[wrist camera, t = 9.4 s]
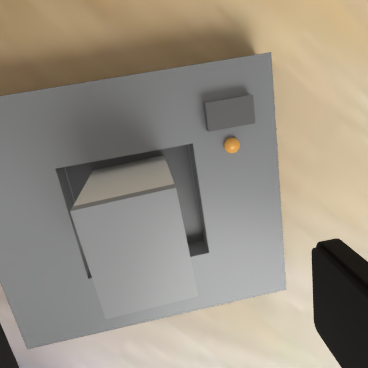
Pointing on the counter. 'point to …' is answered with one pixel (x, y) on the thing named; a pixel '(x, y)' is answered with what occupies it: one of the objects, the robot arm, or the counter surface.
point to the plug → (134, 237)
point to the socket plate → (130, 152)
